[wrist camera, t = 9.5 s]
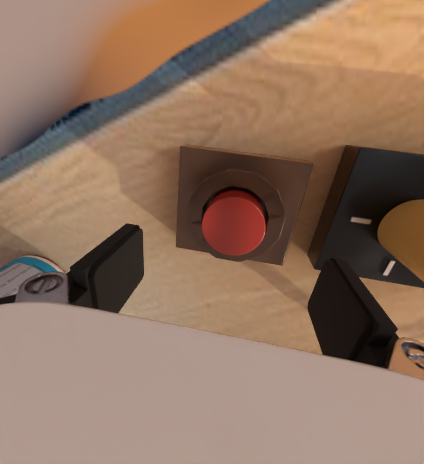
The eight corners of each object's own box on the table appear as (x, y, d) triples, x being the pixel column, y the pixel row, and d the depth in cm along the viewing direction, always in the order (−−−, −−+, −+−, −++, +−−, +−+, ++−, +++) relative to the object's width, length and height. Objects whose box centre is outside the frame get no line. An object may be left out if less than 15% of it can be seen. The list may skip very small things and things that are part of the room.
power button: (269, 194, 16) (272, 202, 14) (257, 247, 18) (258, 260, 16) (209, 185, 16) (204, 192, 14) (203, 238, 18) (199, 250, 16)
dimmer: (501, 164, 16) (546, 170, 14) (427, 275, 20) (451, 294, 18) (345, 144, 17) (361, 146, 14) (306, 254, 21) (314, 270, 19)
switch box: (306, 160, 18) (321, 168, 14) (279, 254, 22) (285, 279, 18) (186, 144, 19) (172, 148, 15) (181, 238, 22) (168, 258, 19)
